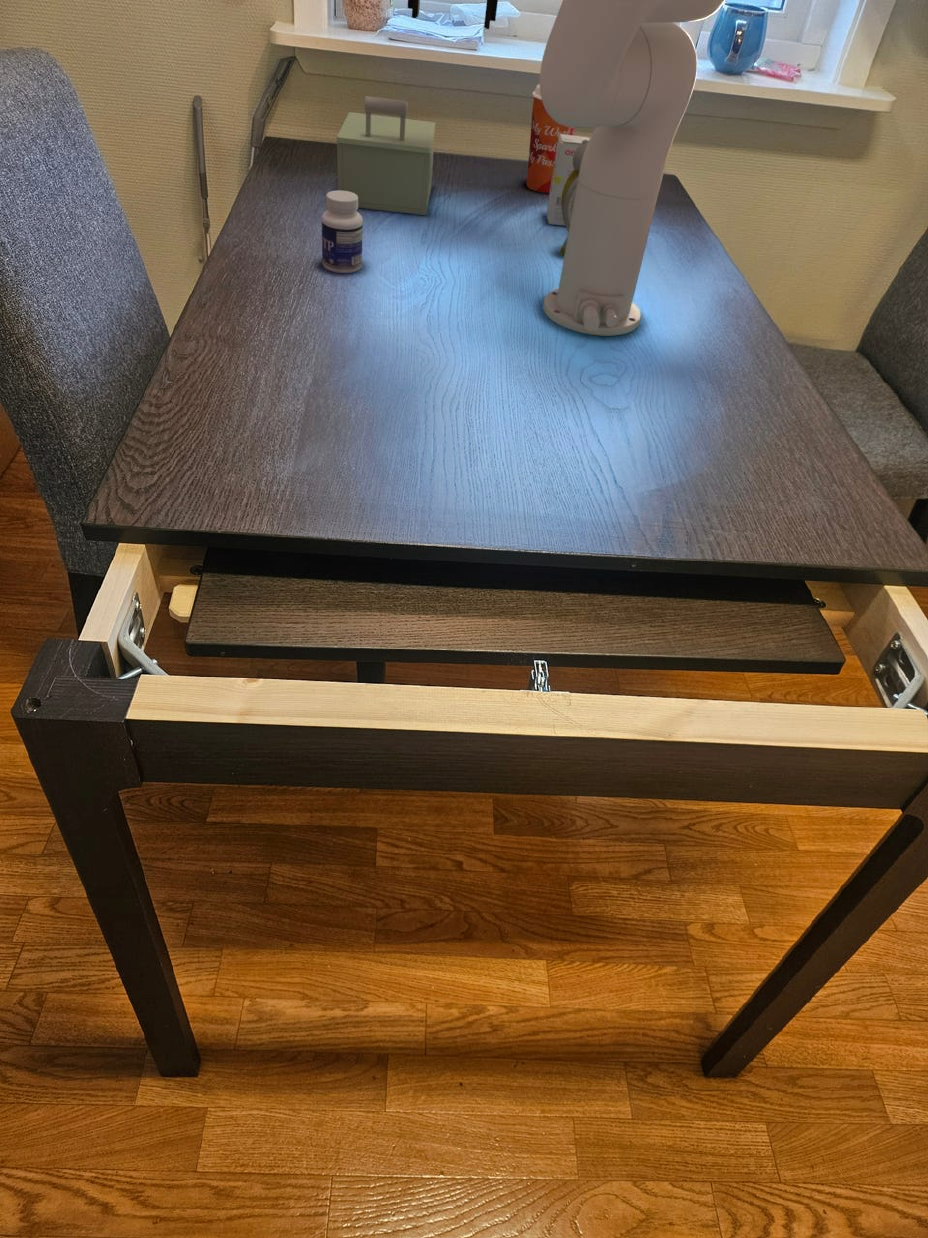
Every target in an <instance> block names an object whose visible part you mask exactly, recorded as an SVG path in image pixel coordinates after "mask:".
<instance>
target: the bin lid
mask: <svg viewBox="0 0 928 1238" xmlns="http://www.w3.org/2000/svg"><path fill="white" fill-rule="evenodd" d="M408 103H409V102H408V101H407V100H402V99H393V98H384V97H379V96H378V97H377V96H369V95H365V96H364V112H365V113H360V112H352V111H348V114H347V115H346V118H345V119H344V122H343V123H342V126H341V127H340V130H339V132H338V133H337V135H336V143H343V144H352V145H360V146H369V147H377V148H386V149H394V150H403V151H411V152H420V153H428V154H430V150H431V145H432V140H433V135H434V130H435V131H436V122H435V121H429V120H428V121H426V120H419V119H412V118H411V119H410V118H407V117H408Z"/></svg>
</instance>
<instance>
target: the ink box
mask: <svg viewBox="0 0 928 1238" xmlns="http://www.w3.org/2000/svg"><path fill="white" fill-rule="evenodd" d="M590 138H591V137H589V136H581V135H573V136H572V135H564V134H559V138H558V144H557V150H556V156H555V162H554V169H553V175H552V181H551V188H550V193H548V201H547V208H546V219H547V223H548V225H553V226H564V227H566V226H565V223H564V220H563V214H562V207H561V199H562V192H563V188H564V185H565V183H566V181H567V179H568V177H569V176H570V174H571V173H572V171H573V170H574V167H573V155H574V153H575V151H576V149H577V147H578V146H579V145H580V144H581V143H582V142H583V140H590Z"/></svg>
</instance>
